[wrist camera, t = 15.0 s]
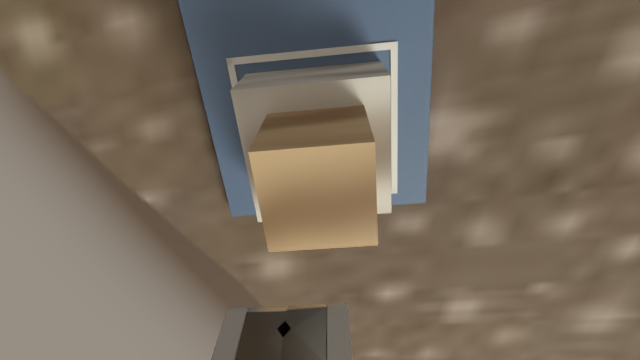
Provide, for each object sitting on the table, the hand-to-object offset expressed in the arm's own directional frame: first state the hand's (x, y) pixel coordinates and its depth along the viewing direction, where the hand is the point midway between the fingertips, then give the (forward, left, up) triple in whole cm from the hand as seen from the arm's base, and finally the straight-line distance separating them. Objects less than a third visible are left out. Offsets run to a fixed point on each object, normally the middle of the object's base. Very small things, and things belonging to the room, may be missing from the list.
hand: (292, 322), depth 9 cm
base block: (+1, 0, -16) cm, 16 cm away
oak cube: (+1, 0, -12) cm, 12 cm away
